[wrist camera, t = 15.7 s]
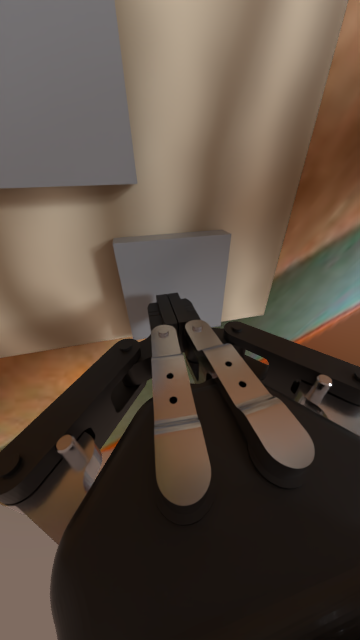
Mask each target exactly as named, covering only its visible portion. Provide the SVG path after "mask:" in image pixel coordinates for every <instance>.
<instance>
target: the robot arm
mask: <svg viewBox="0 0 360 640" xmlns="http://www.w3.org/2000/svg"><path fill="white" fill-rule="evenodd" d="M147 310H148V317H149V324H150V330H151V334H150V336H149V337H148V338H147V339H145V340H143V341H141V342H138V341H136V340H134V339H123V340H121V341H119V342H117V343H116V344H115V345H113V346H112V347H111V348H110V349H109V350H108V351H107V352H106V353H105V354H104V355H103V356H102V357H101V358H100V359H99V360H98V361H96V362H95V363H94V364H93V365H92V366H91V367H90V368H89V369H88V370H87V371H86V372H85V373H84V374H83V375H82V376H81V377H79V378H78V379H77V380H76V381H75V382H74V383H73V384H72V385H71V386H70V387H69V388H68V389H67V390H66V391H65V392H64V393H62V394H61V395H60V396H59V397H58V398H57V399H56V400H55V401H54V402H53V403H52V404H51V405H50V406H49V407H48V408H47V409H45V410H44V411H43V412H42V413H41V414H40V415H39V416H38V417H37V418H36V419H35V420H34V421H33V422H32V423H31V424H30V425H28V426H27V427H26V428H25V429H24V430H23V431H22V432H21V433H20V434H19V435H18V436H17V437H16V438H15V439H14V440H12V441H11V442H10V443H9V444H8V445H7V446H6V447H5V448H4V449H3V450H2V451H1V452H0V504H1V505H3V506H5V507H8V508H10V509H12V510H14V511H16V512H18V513H20V514H24V515H27V516H28V517H29V518H30V519H31V520H32V521H33V522H34V523H35V524H36V525H37V526H38V527H39V528H41V529H42V530H43V531H44V532H45V533H46V534H47V535H48V536H49V537H50V538H51V539H52V540H54V542H56V543H57V544H58V545H59V546H58V549H57V552H56V555H55V559H54V564H53V569H52V575H51V586H50V599H51V600H50V601H51V610H52V615H53V619H54V624H55V627H56V632H57V637H58V640H360V367H358V366H355V365H353V364H350V363H348V362H345V361H342V360H340V359H337V358H334V357H332V356H329V355H326V354H323V353H321V352H318V351H316V350H313V349H310V348H307V347H305V346H302V345H300V344H297V343H294V342H292V341H289V340H286V339H284V338H281V337H278V336H276V335H273V334H270V333H268V332H265V331H262V330H260V329H257V328H254V327H252V326H249V325H246V324H244V323H241V322H229V323H227V324H226V325H225V326H224V329H219V328H211V327H210V326H209V324H208V323H207V322H205V321H202V320H201V319H200V317H199V315H198V313H197V312H196V310H195V308H194V306H193V305H192V303H191V301H189V300H188V299H186V298H184V299H181V298H180V296H179V294H178V292H176V293H169V294H162V295H156V302H155V303H149V305H148V307H147ZM245 350H248V351H250V352H252V353H255V354H257V355H259V356H261V357H264V358H265V359H267V360H268V362H269V365H266V364H264V363H262V362H259V361H257V360H255V359H253V358H251V357H249V356H246V355H245ZM183 352H185V355H186V364H187V366H188V368H189V371H190V373H191V375H192V377H193V379H194V382H195V384H190V382H189V378H188V374H187V369H186V365H185V361H184V356H183V354H182V353H183ZM151 378H152V383H153V397H152V398H151V399H149V400H148V401H147V402H146V403H145V404H144V405H143V406H142V407H141V408H140V409H139V410H138V411H137V413H136V414H135V416H134V418H133V419H132V421H131V422H130V424H129V426H128V427H127V429H126V431H125V432H124V434H123V435H122V437H121V439H120V440H119V442H118V444H117V445H116V447H115V448H114V450H113V452H112V453H111V455H110V457H109V458H108V460H107V462H106V463H105V465H104V467H103V468H102V470H101V471H100V473H99V475H98V476H97V478H96V479H95V477H96V475H97V473H98V471H99V469H100V466H101V463H102V454H101V451H100V449H101V447H102V446H103V445H104V443H105V442H106V440H107V439H108V438H109V436H110V435H111V433H112V432H113V430H114V429H115V428H116V426H117V425H118V423H119V422H120V421H121V419H122V418H123V416H124V415H125V413H126V412H127V411H128V409H129V408H130V406H131V405H132V404H133V402H134V401H135V399H136V398H137V396H138V395H139V394H140V392H141V391H142V389H143V388H144V387H145V385H146V382H147V380H149V379H151ZM94 480H95V481H94Z"/></svg>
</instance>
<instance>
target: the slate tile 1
mask: <svg viewBox="0 0 360 640" xmlns="http://www.w3.org/2000/svg"><path fill="white" fill-rule="evenodd" d="M121 184H137V176H136V168H135V160H134V152H133V144H132V136H131V128H130V120H129V112H128V104H127V96H126V88H125V80H124V72H123V64H122V56H121V48H120V40H119V32H118V24H117V16H116V9H115V1H114V0H0V188H30V187H60V186H91V185H121Z"/></svg>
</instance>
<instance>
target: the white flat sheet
mask: <svg viewBox="0 0 360 640" xmlns="http://www.w3.org/2000/svg"><path fill="white" fill-rule="evenodd" d="M114 1H115V9H116V16H117V24H118V32H119V40H120V48H121V56H122V64H123V72H124V80H125V88H126V96H127V104H128V112H129V120H130V128H131V136H132V144H133V152H134V160H135V168H136V176H137V184H121V185H91V186H60V187H30V188H0V358H3V357H9V356H15V355H21V354H27V353H33V352H39V351H45V350H52V349H58V348H64V347H70V346H76V345H82V344H88V343H94V342H100V341H106V340H112V339H118V338H125V337H131V336H133V335H132V331H131V326H130V322H129V317H128V312H127V308H126V303H125V299H124V294H123V290H122V285H121V280H120V276H119V271H118V267H117V262H116V258H115V253H114V248H113V244H112V243H113V239H114V238H120V237H132V236H145V235H158V234H171V233H184V232H196V231H209V230H224V231H227V232H229V233H231V242H230V251H229V259H228V267H227V276H226V284H225V292H224V301H223V309H222V318H221V322H222V321H228V320H234V319H240V318H246V317H252V316H258V315H264V311H265V307H266V304H267V300H268V296H269V293H270V289H271V285H272V282H273V278H274V274H275V270H276V267H277V263H278V259H279V256H280V252H281V248H282V244H283V241H284V237H285V233H286V230H287V226H288V222H289V218H290V215H291V211H292V207H293V204H294V200H295V196H296V193H297V189H298V185H299V181H300V178H301V174H302V170H303V167H304V163H305V159H306V155H307V152H308V148H309V144H310V141H311V137H312V133H313V130H314V126H315V122H316V118H317V115H318V111H319V107H320V104H321V100H322V96H323V92H324V89H325V85H326V81H327V78H328V74H329V70H330V66H331V63H332V59H333V55H334V52H335V48H336V44H337V41H338V37H339V33H340V29H341V26H342V22H343V18H344V15H345V11H346V7H347V3H348V0H114Z"/></svg>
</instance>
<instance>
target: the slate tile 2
mask: <svg viewBox="0 0 360 640" xmlns="http://www.w3.org/2000/svg"><path fill="white" fill-rule="evenodd" d="M230 242H231V233H229V232H227V231H224V230H209V231H196V232H184V233H171V234H158V235H145V236H132V237H120V238H114V239H113V243H112V244H113V248H114V253H115V258H116V262H117V267H118V271H119V276H120V280H121V285H122V290H123V294H124V299H125V303H126V308H127V312H128V317H129V322H130V326H131V331H132V335H133V339H134V340H138V339H144V338H148V337H149V336H150V334H151V330H150V324H149V317H148V310H147V307H148V305H149V303H155V302H156V295H162V294H169V293H176V292H178V294H179V296H180V298H181V299H184V298H186V299H188V300H189V301H191V303H192V305H193V306H194V308H195V310H196V312H197V313H198V315H199V317H200V319H201V320H202V321H205V322H207V323H208V324H209V326H210V327H216V326H221V318H222V309H223V301H224V292H225V284H226V276H227V267H228V259H229V251H230Z"/></svg>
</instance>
